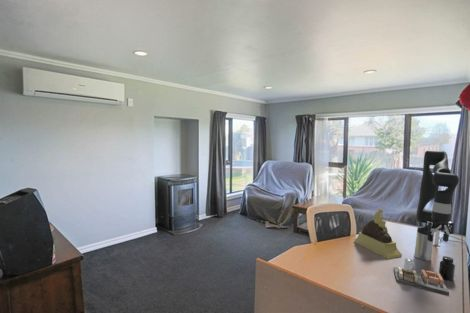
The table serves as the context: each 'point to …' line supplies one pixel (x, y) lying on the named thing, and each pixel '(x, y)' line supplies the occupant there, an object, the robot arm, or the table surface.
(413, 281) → the mount board
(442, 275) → the supplement bottle
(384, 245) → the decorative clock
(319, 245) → the table surface
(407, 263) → the peg
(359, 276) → the table surface
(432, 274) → the socket
